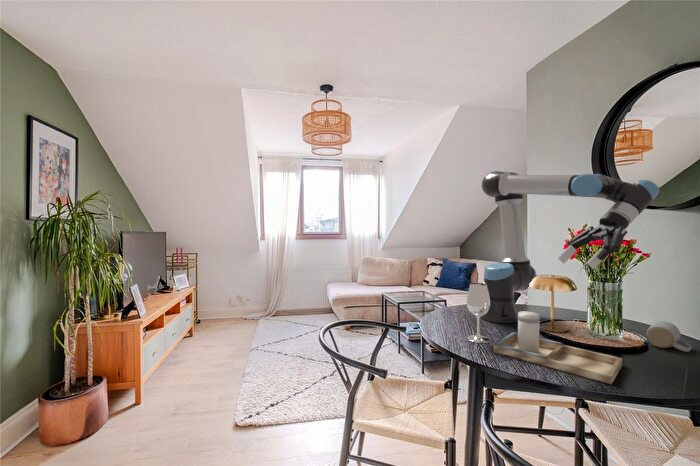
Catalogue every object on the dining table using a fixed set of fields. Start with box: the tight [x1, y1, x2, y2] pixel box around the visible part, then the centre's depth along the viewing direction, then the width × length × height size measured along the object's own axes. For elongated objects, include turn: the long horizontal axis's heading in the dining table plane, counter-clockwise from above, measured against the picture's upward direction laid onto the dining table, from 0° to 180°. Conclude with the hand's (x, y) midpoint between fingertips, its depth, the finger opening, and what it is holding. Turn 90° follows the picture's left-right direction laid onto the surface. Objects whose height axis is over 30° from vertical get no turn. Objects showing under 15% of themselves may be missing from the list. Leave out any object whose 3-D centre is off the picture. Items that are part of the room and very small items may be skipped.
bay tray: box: [493, 331, 623, 385], centre depth 101 cm, size 30×16×3 cm, turn 43°
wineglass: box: [466, 282, 491, 344], centre depth 118 cm, size 8×8×20 cm
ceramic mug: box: [645, 320, 693, 353], centre depth 110 cm, size 11×8×8 cm
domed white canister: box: [517, 310, 541, 354], centre depth 106 cm, size 6×6×12 cm
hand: (574, 263), depth 113 cm, fingers open, 13 cm apart
